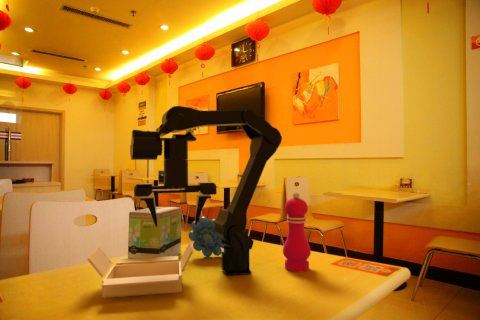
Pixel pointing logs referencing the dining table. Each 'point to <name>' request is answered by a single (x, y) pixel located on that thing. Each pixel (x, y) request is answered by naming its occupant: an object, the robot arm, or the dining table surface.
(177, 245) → the tea box
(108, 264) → the flap
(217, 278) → the dining table surface
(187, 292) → the dining table surface
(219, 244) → the blue succulent rosette
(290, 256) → the pepper mill
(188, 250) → the flap
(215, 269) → the dining table surface
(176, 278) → the carton
